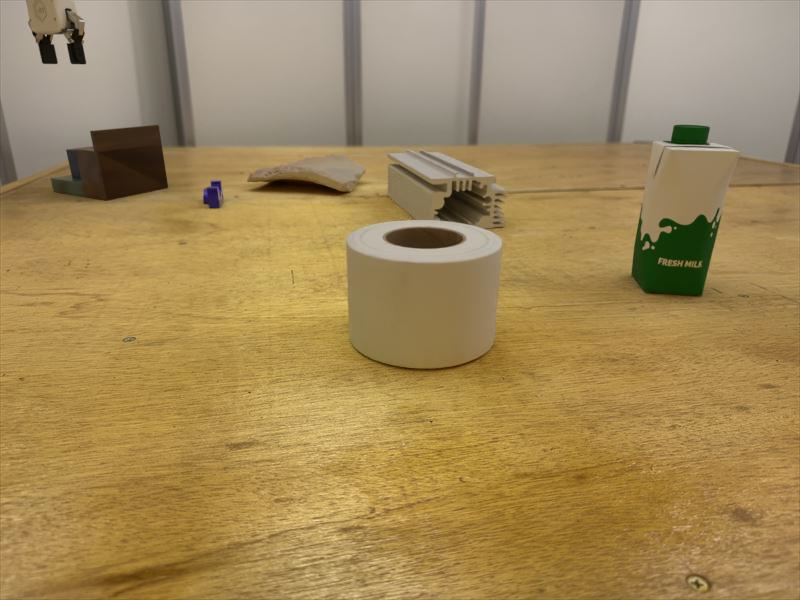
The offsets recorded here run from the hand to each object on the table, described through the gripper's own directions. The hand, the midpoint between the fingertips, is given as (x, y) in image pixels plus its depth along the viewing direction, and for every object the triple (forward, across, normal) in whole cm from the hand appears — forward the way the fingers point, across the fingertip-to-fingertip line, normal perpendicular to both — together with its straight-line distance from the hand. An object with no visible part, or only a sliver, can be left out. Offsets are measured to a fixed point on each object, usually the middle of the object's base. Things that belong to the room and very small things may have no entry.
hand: (64, 64), depth 119 cm
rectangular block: (+23, +4, 0) cm, 24 cm away
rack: (+26, +8, 0) cm, 27 cm away
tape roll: (+26, +102, -33) cm, 110 cm away
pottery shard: (+26, +44, +27) cm, 58 cm away
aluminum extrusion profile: (+26, +81, +20) cm, 87 cm away
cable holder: (+26, +38, +1) cm, 46 cm away
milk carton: (+26, +124, -4) cm, 127 cm away
